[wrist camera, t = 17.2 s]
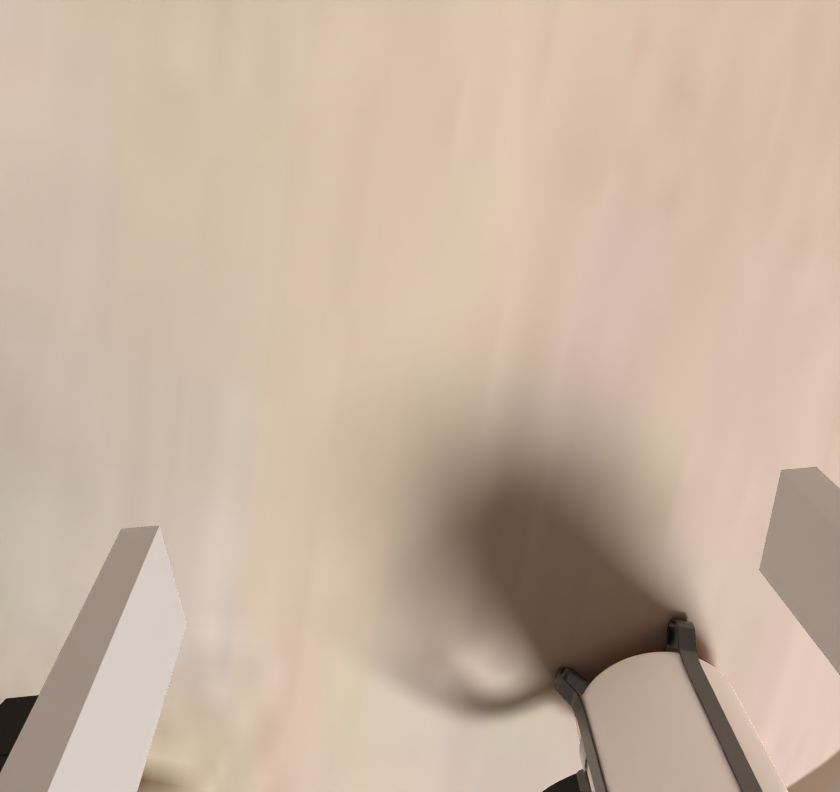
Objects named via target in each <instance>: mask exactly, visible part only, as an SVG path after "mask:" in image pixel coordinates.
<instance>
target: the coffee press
mask: <svg viewBox="0 0 840 792" xmlns="http://www.w3.org/2000/svg"><path fill="white" fill-rule="evenodd" d="M554 687H555V689H556V690H557V691H558V692H559V693H560V694H561V695H562V696H563V697H564V699H565V700H566V701H567V702H568V703H569V704H570V705H571V707H572V708H573V710H574V713H575V716H576V725H577V732H578V737H579V741H580V758H581V762H582V766H583V769H582V770H579V771H578V772H577V773H576V774H574V775H572V776H569V777H567V778H565V779H563V780H561V781H559V782H557V783H555V784H553V785H552V786H550V787H548V788H547V789H546V790H544V791H543V792H788V791H787V789H786V787H785V785H784V783H783V781H782V779H781V777H780V776H779V774H778V772H777V770H776V768H775V766H774V764H773V762H772V760H771V758H770V757H769V755H768V753H767V751H766V749H765V747H764V745H763V743H762V741H761V740H760V738H759V736H758V734H757V732H756V730H755V728H754V726H753V724H752V723H751V721H750V719H749V717H748V715H747V713H746V711H745V709H744V708H743V706H742V704H741V702H740V700H739V698H738V696H737V695H736V693H735V691H734V689H733V688H732V686H731V684H730V683H729V681H728V680H727V679H726V677H725V676H724V675H723V674H722V673H721V672H720V671H718V670H717V669H716V668H715V667H713V666H712V665H710V664H709V663H707V662H705V661H703V660H701V659H699V658H698V656H697V652H696V642H695V628H694V625H693V624H692V623H691V622H687V621H682V620H677V619H671V620H670V622H669V624H668V629H667V645H666V649H665V652H651V653H644V654H640V655H636V656H632V657H629V658H626V659H624V660H621V661H619V662H617V663H615V664H613V665H612V666H610V667H608V668H607V669H605V670H604V671H603V672H601V673H600V674H599V675H598V676H597V677H596V678H595V679H594V680H593V681H592V682H589V681H587V680H585V679H584V678H583V677H581V676H580V675H579V674H578V673H577V672H575V671H574V670H572V669H570V668H567V667H563V668H561V669H560V671H559V673H558V675H557V678H556V680H555V682H554ZM577 691H578V692H579V693H580V694H582V697H580V695H579V694H578V693H577ZM586 770H587V771H586Z"/></svg>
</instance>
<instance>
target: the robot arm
mask: <svg viewBox="0 0 840 792" xmlns="http://www.w3.org/2000/svg"><path fill="white" fill-rule="evenodd" d="M759 570H760V572H761V573H762V574H763V576H764V577H765V578H766V579H767V581H768V582H769V583H770V585H771V586H772V587H773V589H774V590H775V591H776V592H777V594H778V595H779V596H780V598H781V599H782V600H783V602H784V603H785V604H786V606H787V607H788V608H789V609H790V611H791V612H792V613H793V615H794V616H795V617H796V619H797V620H798V621H799V622H800V624H801V625H802V626H803V628H804V629H805V630H806V632H807V633H808V634H809V636H810V637H811V638H812V639H813V641H814V642H815V643H816V645H817V646H818V647H819V649H820V650H821V651H822V652H823V654H824V655H825V656H826V658H827V659H828V660H829V662H830V663H831V664H832V665H833V667H834V668H835V669H836V671H837V672H838V673H839V675H840V488H839V487H837V486H836V485H835V484H834V483H833V482H832V481H831V480H830V479H829V478H828V477H827V476H825V475H824V474H823V473H822V472H821V471H820V470H819V469H818V468H817V467H809V468H798V469H787V470H781V474H780V478H779V483H778V487H777V492H776V496H775V501H774V505H773V510H772V514H771V519H770V524H769V528H768V533H767V537H766V542H765V546H764V551H763V555H762V560H761V564H760V569H759ZM186 627H187V623H186V619H185V616H184V612H183V609H182V605H181V602H180V598H179V594H178V591H177V587H176V584H175V580H174V576H173V573H172V569H171V566H170V562H169V558H168V555H167V551H166V548H165V544H164V540H163V537H162V533H161V530H160V526H149V527H138V528H127V529H121V531H120V533H119V535H118V537H117V539H116V541H115V543H114V545H113V547H112V549H111V551H110V553H109V555H108V557H107V559H106V561H105V563H104V565H103V567H102V569H101V571H100V573H99V575H98V577H97V579H96V581H95V583H94V585H93V587H92V589H91V591H90V593H89V595H88V597H87V599H86V601H85V603H84V605H83V607H82V609H81V611H80V613H79V615H78V617H77V619H76V621H75V623H74V625H73V628H72V630H71V632H70V634H69V636H68V638H67V640H66V642H65V644H64V646H63V648H62V650H61V652H60V654H59V656H58V658H57V660H56V662H55V664H54V666H53V668H52V670H51V672H50V674H49V676H48V678H47V680H46V682H45V684H44V686H43V688H42V690H41V692H40V694H39V695H37V696H27V697H17V698H7V699H5V700H4V701H3V702H2V703H1V705H0V792H137V790H138V787H139V784H140V780H141V777H142V774H143V770H144V767H145V763H146V760H147V757H148V753H149V750H150V747H151V743H152V740H153V737H154V733H155V730H156V727H157V723H158V720H159V717H160V713H161V710H162V707H163V703H164V700H165V697H166V693H167V690H168V687H169V683H170V680H171V677H172V673H173V670H174V667H175V663H176V660H177V657H178V653H179V650H180V647H181V643H182V640H183V637H184V633H185V630H186Z"/></svg>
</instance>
